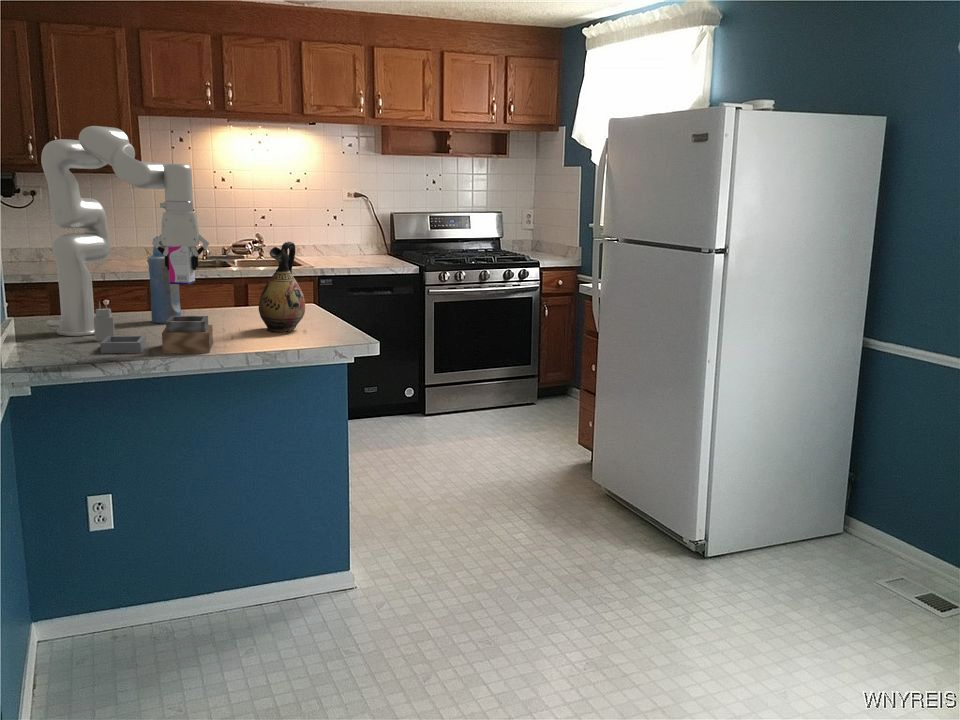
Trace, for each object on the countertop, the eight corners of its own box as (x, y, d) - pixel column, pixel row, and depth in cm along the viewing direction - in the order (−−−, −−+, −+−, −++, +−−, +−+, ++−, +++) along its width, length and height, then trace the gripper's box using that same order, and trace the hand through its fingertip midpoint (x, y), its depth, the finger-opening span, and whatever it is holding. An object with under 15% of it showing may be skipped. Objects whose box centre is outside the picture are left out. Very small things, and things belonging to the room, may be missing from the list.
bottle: (172, 324, 282) (168, 237, 275) (145, 323, 283) (141, 235, 277) (186, 320, 291) (182, 235, 285) (160, 318, 293) (156, 234, 286)
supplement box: (195, 282, 244) (194, 243, 242) (189, 284, 238) (187, 245, 236) (176, 281, 244) (174, 242, 241) (169, 284, 238) (167, 244, 236)
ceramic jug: (290, 335, 270) (288, 244, 264) (250, 331, 275) (247, 242, 269) (316, 328, 286) (315, 241, 280) (278, 324, 291) (276, 239, 284)
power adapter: (115, 339, 254) (113, 301, 251) (96, 341, 251) (94, 302, 248) (113, 338, 256) (111, 300, 254) (94, 339, 253) (92, 301, 251)
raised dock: (162, 353, 238) (161, 322, 236) (168, 344, 250) (167, 315, 248) (209, 352, 241) (208, 322, 239) (213, 343, 253) (212, 315, 251)
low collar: (100, 353, 235) (100, 343, 234) (108, 345, 245) (107, 335, 244) (140, 352, 237) (140, 342, 237) (146, 345, 248) (146, 335, 247)
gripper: (145, 207, 231) (148, 270, 235) (209, 208, 235) (211, 271, 239) (149, 206, 238) (152, 268, 242) (211, 207, 242) (214, 268, 246)
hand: (182, 269), depth 240 cm, fingers closed on supplement box, 6 cm apart
